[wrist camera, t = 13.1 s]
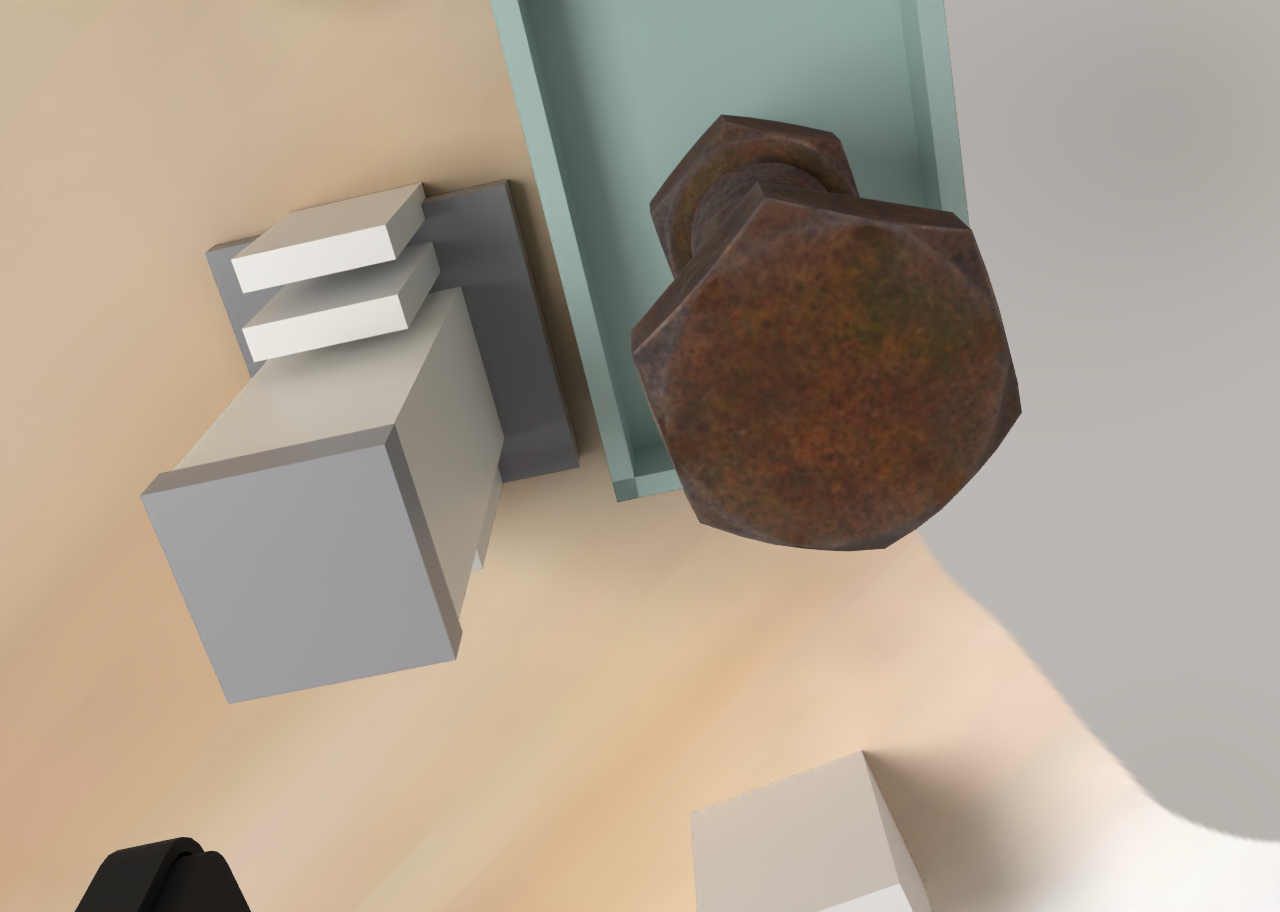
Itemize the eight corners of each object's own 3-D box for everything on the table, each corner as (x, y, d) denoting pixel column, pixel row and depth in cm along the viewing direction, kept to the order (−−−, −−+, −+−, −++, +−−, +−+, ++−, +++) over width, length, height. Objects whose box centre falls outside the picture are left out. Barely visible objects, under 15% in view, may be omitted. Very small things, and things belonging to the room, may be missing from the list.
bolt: (743, 26, 29) (842, 115, 16) (893, 158, 31) (1106, 348, 17) (595, 211, 31) (567, 437, 17) (743, 329, 32) (825, 626, 19)
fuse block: (-30, -423, 26) (-500, -680, 15) (323, -521, 25) (95, -862, 15) (311, 511, 35) (168, 769, 24) (580, 455, 34) (556, 694, 24)
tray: (488, -56, 29) (476, -55, 27) (900, -156, 28) (924, -164, 26) (618, 464, 34) (617, 502, 32) (967, 392, 34) (992, 425, 31)
